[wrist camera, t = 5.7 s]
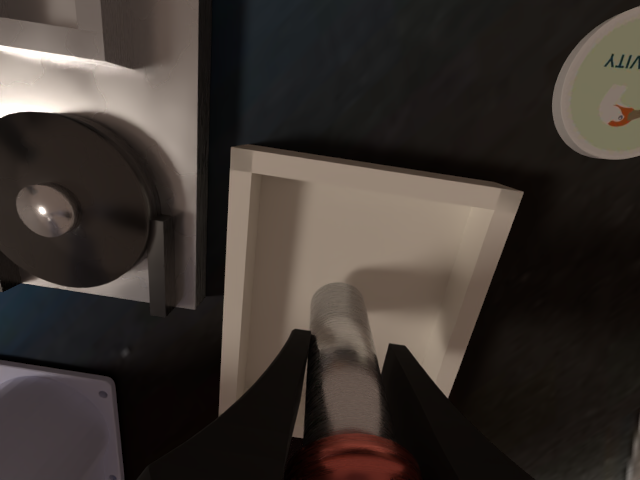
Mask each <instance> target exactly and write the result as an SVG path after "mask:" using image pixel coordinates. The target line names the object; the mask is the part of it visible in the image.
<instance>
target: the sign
mask: <svg viewBox="0 0 640 480" xmlns="http://www.w3.org/2000/svg"><path fill="white" fill-rule="evenodd" d="M552 111H553V119H554V123H555V126H556V129H557V131H558V133H559V135H560V136H561V138H562V139H563V141H564V142H565V143H566V144H567V145H568V146H569V147H570V148H572V149H573V150H575V151H576V152H578V153H580V154H582V155H585V156H588V157H592V158H600V159H627V158H632V157H636V156H639V155H640V6H639V7H636V8H633V9H630V10H628V11H626V12H623V13H621V14H619V15H616V16H614V17H612V18H610V19H608V20H607V21H605V22H603V23H602V24H600V25H599V26H597V27H596V28H595V29H593V30H592V31H591V32H590V33H589V34H587V35H586V36H585V37H584V38H583V39H582V40H581V41H580V42H579V43H578V45H577V46H576V47H575V48H574V50H573V51H572V52H571V54H570V55H569V56H568V58H567V60H566V61H565V63H564V65H563V67H562V69H561V71H560V73H559V76H558V78H557V81H556V84H555V88H554V93H553V101H552Z"/></svg>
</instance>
